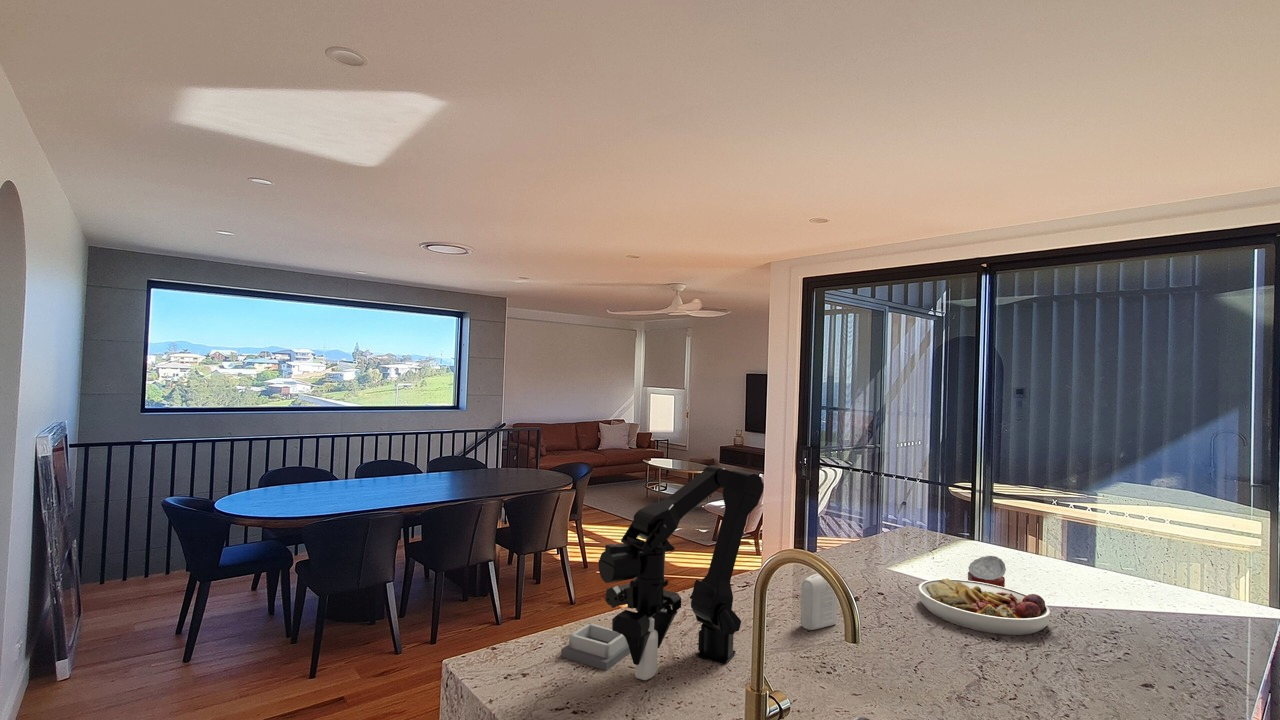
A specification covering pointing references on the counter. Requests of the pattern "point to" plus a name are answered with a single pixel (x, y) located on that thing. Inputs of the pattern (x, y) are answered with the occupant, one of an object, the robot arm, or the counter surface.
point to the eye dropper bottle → (648, 656)
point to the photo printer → (817, 603)
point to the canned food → (987, 571)
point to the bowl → (984, 606)
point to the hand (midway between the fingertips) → (646, 655)
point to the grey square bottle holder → (596, 646)
